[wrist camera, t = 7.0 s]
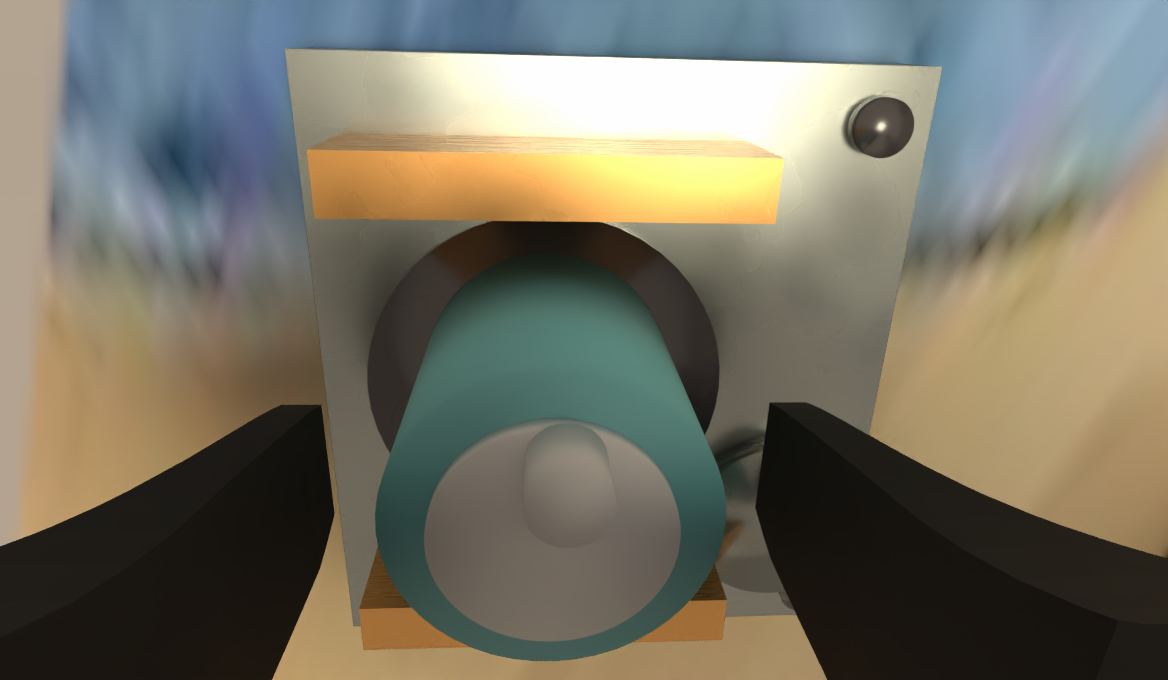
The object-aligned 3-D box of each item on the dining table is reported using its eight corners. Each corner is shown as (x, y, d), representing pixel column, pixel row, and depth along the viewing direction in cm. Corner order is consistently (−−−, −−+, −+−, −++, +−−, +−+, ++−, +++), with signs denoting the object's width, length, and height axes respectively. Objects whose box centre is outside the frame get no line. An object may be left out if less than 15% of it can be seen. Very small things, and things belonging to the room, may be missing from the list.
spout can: (642, 477, 15) (709, 751, 9) (421, 458, 15) (346, 735, 9) (683, 269, 13) (796, 442, 8) (435, 239, 13) (355, 401, 7)
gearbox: (810, 570, 19) (869, 683, 15) (367, 580, 18) (330, 701, 15) (901, 63, 14) (1012, 71, 11) (310, 47, 13) (239, 50, 10)
